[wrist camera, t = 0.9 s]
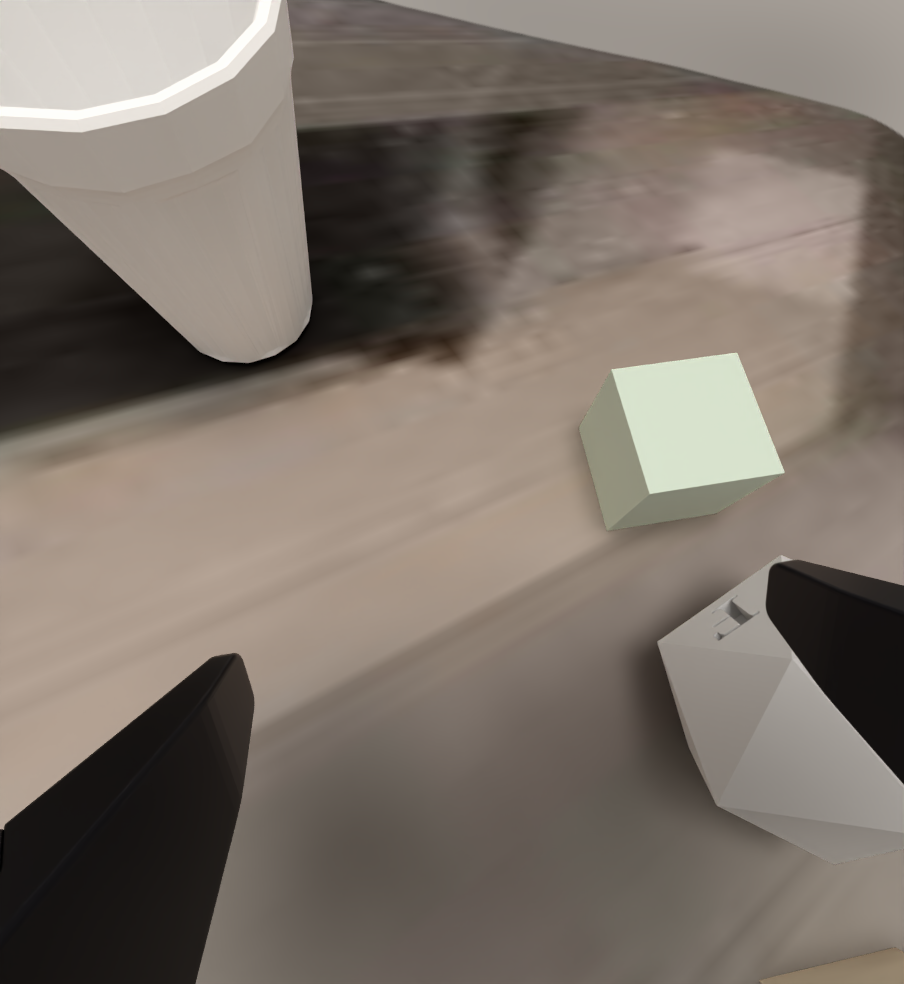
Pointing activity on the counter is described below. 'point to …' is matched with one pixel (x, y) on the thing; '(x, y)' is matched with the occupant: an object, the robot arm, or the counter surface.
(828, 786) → the die
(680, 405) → the sage block
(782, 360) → the counter surface
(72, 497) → the counter surface
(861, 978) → the birch block
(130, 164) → the cup
